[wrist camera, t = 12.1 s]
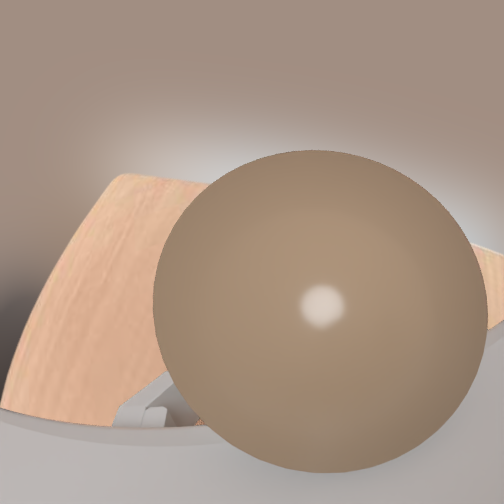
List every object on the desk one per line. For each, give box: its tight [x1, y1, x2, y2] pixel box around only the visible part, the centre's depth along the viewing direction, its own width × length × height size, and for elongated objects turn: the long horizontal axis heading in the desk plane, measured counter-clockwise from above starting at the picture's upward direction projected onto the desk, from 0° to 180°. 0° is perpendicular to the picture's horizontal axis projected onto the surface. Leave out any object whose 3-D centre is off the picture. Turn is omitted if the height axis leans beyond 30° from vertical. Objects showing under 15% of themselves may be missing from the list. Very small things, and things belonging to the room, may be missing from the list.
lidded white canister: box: [153, 150, 488, 473], centre depth 9 cm, size 5×5×13 cm
